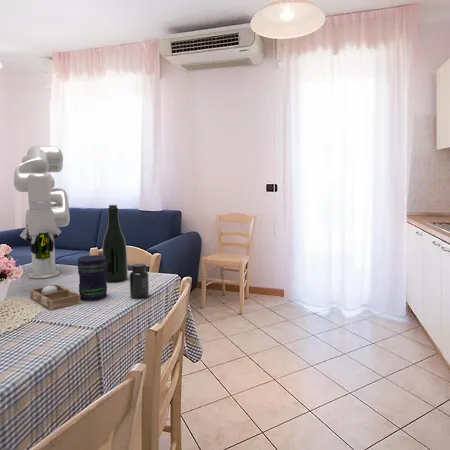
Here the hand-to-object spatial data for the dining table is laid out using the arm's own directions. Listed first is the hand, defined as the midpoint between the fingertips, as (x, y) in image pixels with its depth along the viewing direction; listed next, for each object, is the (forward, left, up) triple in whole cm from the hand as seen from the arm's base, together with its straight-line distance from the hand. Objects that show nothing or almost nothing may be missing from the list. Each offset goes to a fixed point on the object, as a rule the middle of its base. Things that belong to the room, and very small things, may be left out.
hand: (42, 251), depth 141 cm
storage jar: (+22, +9, -16) cm, 29 cm away
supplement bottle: (+34, +22, -16) cm, 43 cm away
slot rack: (+16, -2, -15) cm, 22 cm away
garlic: (+11, -2, -16) cm, 19 cm away
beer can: (0, 0, -3) cm, 3 cm away
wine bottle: (+6, +28, -16) cm, 32 cm away
